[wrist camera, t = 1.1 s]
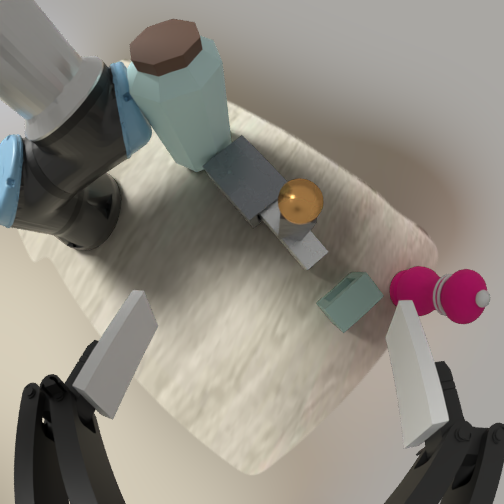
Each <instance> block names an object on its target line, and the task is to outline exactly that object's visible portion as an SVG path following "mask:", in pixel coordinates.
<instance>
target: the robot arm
mask: <svg viewBox="0 0 504 504" xmlns="http://www.w3.org/2000/svg"><path fill="white" fill-rule="evenodd" d="M0 100H1V101H3V102H4V103H5V104H6V105H8V106H9V107H11V108H12V109H13V110H14V111H16V112H17V113H18V114H19V115H21V116H22V117H23V118H24V119H25V136H26V137H25V138H21V136H20V135H18V134H17V135H9V136H7V137H6V138H5V139H4V140H3V141H2V142H1V143H0V225H3V226H5V227H7V228H10V227H12V228H17V229H23V230H28V231H34V232H39V233H45V234H51V235H54V236H55V237H56V238H58V239H59V240H60V241H62V242H63V243H64V244H66V245H67V246H69V247H71V248H73V249H78V250H91V249H94V248H96V247H98V246H99V245H101V244H102V243H103V242H104V241H105V240H106V239H107V238H108V237H109V236H110V234H111V233H112V231H113V229H114V227H115V225H116V223H117V220H118V217H119V212H120V205H121V198H120V191H119V188H118V185H117V183H116V181H115V180H114V178H113V177H112V176H111V175H109V174H108V173H106V172H108V171H109V170H111V169H112V168H114V167H115V166H117V165H118V164H120V163H121V162H123V161H124V160H126V159H129V158H130V157H131V155H132V154H133V153H135V152H136V151H138V150H139V149H140V148H142V147H143V146H145V145H146V144H147V143H148V142H149V140H150V138H151V135H152V129H151V125H150V123H149V122H148V120H147V119H146V117H145V116H144V114H143V113H142V111H141V110H140V108H139V107H138V105H137V104H136V102H135V101H134V99H133V98H132V96H131V95H130V92H129V83H128V74H127V68H126V67H125V66H124V64H123V63H122V62H117V63H113V64H111V65H110V66H109V67H107V66H106V65H105V63H104V62H103V61H102V59H100V58H99V57H98V56H86V57H82V56H79V54H78V53H77V52H76V51H75V50H74V48H73V47H72V46H71V45H70V44H69V42H68V41H67V40H66V39H65V38H64V36H63V35H62V34H61V33H60V31H59V30H58V29H57V28H56V27H55V25H54V24H53V23H52V22H51V21H50V20H49V18H48V17H47V16H46V14H45V13H44V12H43V11H42V10H41V8H40V7H39V6H38V5H37V4H36V2H35V1H34V0H0ZM157 328H158V324H157V322H156V319H155V317H154V314H153V312H152V309H151V307H150V304H149V302H148V299H147V297H146V294H145V291H140V290H133V291H132V292H131V293H130V295H129V296H128V298H127V299H126V301H125V302H124V304H123V305H122V306H121V308H120V309H119V311H118V312H117V314H116V315H115V317H114V318H113V320H112V321H111V323H110V324H109V326H108V328H107V329H106V331H105V332H104V334H103V335H102V337H101V338H100V340H99V341H96V340H94V341H93V342H92V343H91V344H90V345H88V346H87V348H86V350H85V351H84V353H83V356H81V357H80V359H79V362H77V364H76V366H75V368H74V369H73V371H72V372H71V374H70V376H69V377H68V379H67V381H66V382H65V384H64V383H63V382H62V381H61V380H60V378H59V377H58V376H57V375H54V374H51V375H48V376H46V377H45V378H44V379H43V380H42V382H41V384H40V387H39V386H38V385H37V384H36V383H30V384H28V385H27V386H26V387H25V388H24V390H23V393H22V399H21V404H20V410H19V417H18V425H17V433H16V443H15V460H14V492H15V504H69V501H70V504H126V503H125V501H124V499H123V496H122V494H121V492H120V489H119V487H118V484H117V482H116V479H115V477H114V474H113V471H112V469H111V466H110V463H109V460H108V457H107V454H106V451H105V448H104V445H103V441H102V437H101V434H100V430H99V427H98V423H97V419H96V416H95V414H94V412H95V409H96V410H97V411H98V412H99V413H100V414H101V415H103V416H105V417H108V418H111V419H113V418H114V416H115V414H116V412H117V410H118V407H119V405H120V403H121V401H122V398H123V397H124V394H125V392H126V390H127V388H128V386H129V384H130V382H131V380H132V378H133V375H134V373H135V371H136V369H137V367H138V365H139V363H140V361H141V359H142V357H143V355H144V353H145V351H146V349H147V347H148V345H149V343H150V341H151V339H152V337H153V335H154V333H155V331H156V330H157ZM385 338H386V342H387V347H388V351H389V356H390V361H391V365H392V370H393V375H394V381H395V387H396V392H397V399H398V405H399V412H400V419H401V426H402V436H403V446H404V448H409V447H414V446H419V445H420V444H422V443H423V442H424V441H425V447H424V448H423V449H421V450H420V451H419V452H418V453H417V454H416V455H417V456H418V455H419V454H420V455H419V457H418V458H417V460H416V462H415V463H414V465H413V466H412V467H411V469H410V470H409V472H408V473H407V475H406V476H405V477H404V479H403V480H402V482H401V483H400V484H399V486H398V487H397V488H396V489H395V491H394V492H393V493H392V494H391V496H390V497H389V498H388V499H387V501H386V502H385V503H384V504H438V503H439V502H440V500H441V499H442V500H441V503H440V504H493V501H494V498H495V494H496V491H497V488H498V484H499V480H500V476H501V472H502V468H503V463H504V424H502V423H495V424H494V425H492V426H491V427H490V428H476V427H472V425H471V424H470V423H469V422H467V421H465V419H464V417H463V413H462V410H461V405H460V402H459V398H458V394H457V390H456V389H455V383H454V381H453V377H452V374H451V370H450V369H449V367H448V366H447V364H446V363H445V362H444V361H441V362H434V360H433V356H432V353H431V350H430V347H429V344H428V341H427V338H426V335H425V333H424V330H423V327H422V325H421V322H420V319H419V316H418V314H417V311H416V309H415V306H414V303H413V301H412V300H401V301H399V302H398V305H397V308H396V310H395V313H394V316H393V319H392V322H391V324H390V327H389V329H388V332H387V335H386V337H385ZM42 417H43V418H44V419H45V421H44V423H43V422H42ZM442 497H443V498H442Z"/></svg>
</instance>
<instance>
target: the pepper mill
mask: <svg viewBox="0 0 504 504" xmlns="http://www.w3.org/2000/svg"><path fill="white" fill-rule="evenodd" d="M390 297H391V300H392V302H393V303H394V304H395V305H396V306H397V305H398V302H399V301H401V300H412V301H413V303H414V306H415V309H416V311H417V314H418V316H423V315H426V314H429V313H430V312H432V311H433V310H437V311H438V312H439V313H440V314H441V315H445V316H447V317H448V318H449V319H450V320H452V321H453V322H455V323H458V324H467V323H471V322H473V321H475V320H476V319H477V318H478V317H479V316H480V315H481V313H482V312H483V311H484V309H485V307H486V306H487V305H488V304H489V302H490V294H489V293H488V291H487V287H486V283H485V281H484V279H483V278H482V277H481V276H480V274H478V273H477V272H475V271H473V270H469V269H464V270H459V271H457V272H455V273H454V274H446V275H444V276H442V277H439V276H438V275H437V274H436V273H435V272H434V271H433V270H431V269H429V268H427V267H420V266H417V267H413V268H410V269H409V270H404V271H401V272H399V273H398V274H397V275H396V276H395V277H394V278H393V280H392V282H391V285H390Z"/></svg>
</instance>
